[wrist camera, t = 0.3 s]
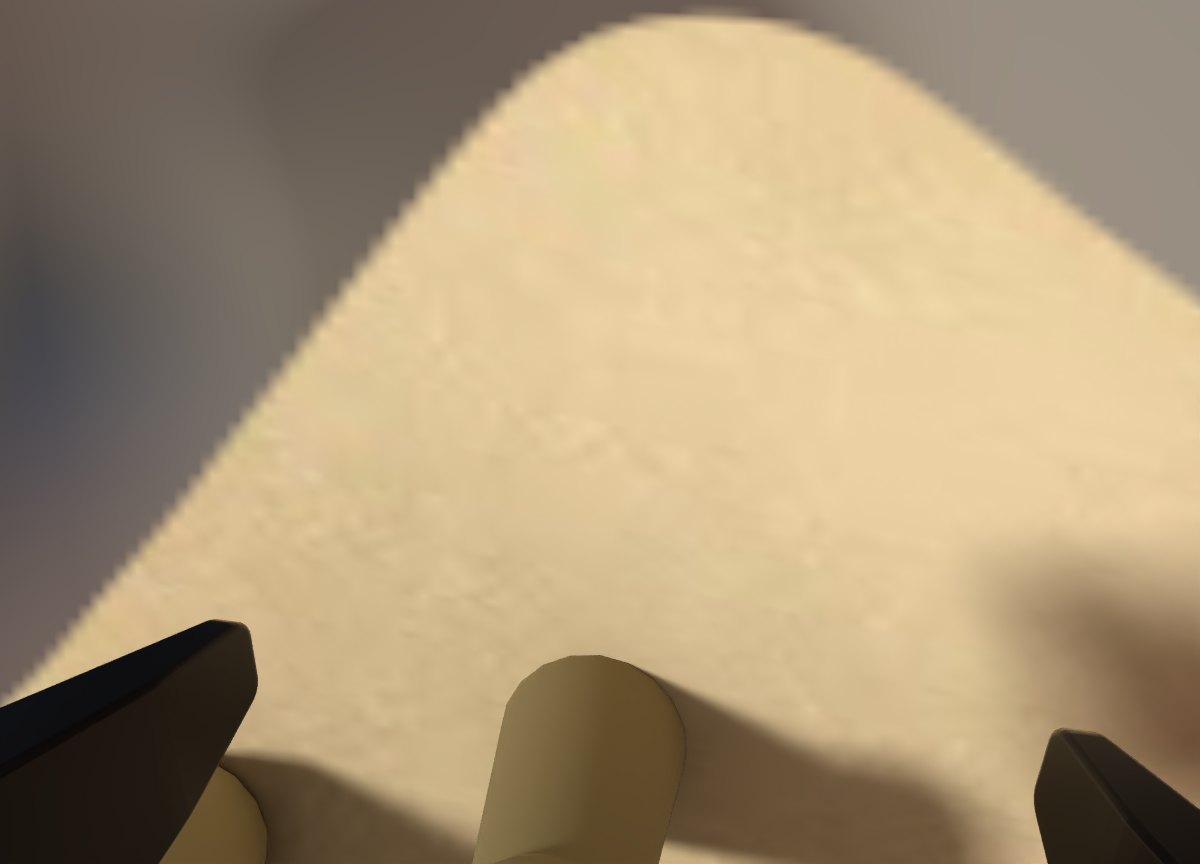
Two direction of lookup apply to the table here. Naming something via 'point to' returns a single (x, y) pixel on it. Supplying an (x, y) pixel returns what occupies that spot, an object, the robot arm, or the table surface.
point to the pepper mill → (583, 768)
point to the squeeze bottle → (221, 827)
